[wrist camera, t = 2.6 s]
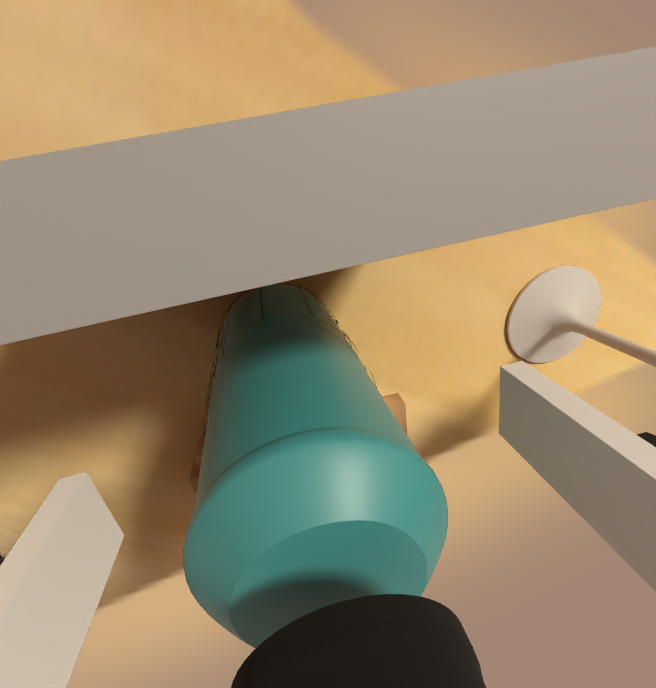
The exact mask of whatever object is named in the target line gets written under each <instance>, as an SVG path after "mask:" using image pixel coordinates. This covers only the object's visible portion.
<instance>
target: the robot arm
mask: <svg viewBox="0 0 656 688" xmlns="http://www.w3.org/2000/svg"><path fill="white" fill-rule="evenodd" d="M499 434H500V435H501V436H502V437H503V438H504V439H505V440H506V441H507V442H508V443H509V444H510V445H511V446H512V447H513V448H514V449H515V450H516V451H517V452H518V453H519V454H520V455H521V456H522V457H523V458H524V459H525V460H526V461H527V462H528V463H529V464H530V465H531V466H532V467H533V468H534V469H535V470H536V471H537V472H538V473H539V474H540V475H541V476H542V477H543V478H544V479H545V480H546V481H547V482H548V483H549V484H550V485H551V486H552V487H553V488H554V489H555V490H556V491H557V492H558V493H559V494H560V495H561V496H562V497H563V499H564V500H565V501H566V502H567V503H568V504H570V505H571V507H572V508H574V510H575V511H576V512H577V513H578V514H579V515H580V516H581V517H582V518H583V519H584V520H585V521H586V522H587V523H588V524H589V525H590V526H591V527H592V528H593V529H594V530H595V531H596V532H597V533H598V534H599V535H600V536H601V537H602V538H603V539H604V540H605V541H606V542H607V543H608V544H609V545H610V546H611V547H612V548H613V549H614V550H615V551H616V552H617V553H618V554H619V555H620V556H621V557H622V558H623V559H624V560H625V561H626V562H627V563H628V564H629V565H630V566H631V567H632V568H633V569H634V570H635V571H636V572H637V573H638V574H639V575H640V576H641V577H642V578H643V579H644V580H645V581H646V582H647V583H648V584H649V586H651V588H652V589H654V591H655V592H656V436H655V435H653V434H650V433H647V432H645V433H641V434H637V435H636V434H634V433H633V432H631V431H629V430H628V429H626V428H625V427H623V426H622V425H620V424H619V423H617V422H616V421H614V420H613V419H611V418H610V417H608V416H607V415H605V414H603V413H602V412H600V411H599V410H597V409H596V408H594V407H593V406H591V405H590V404H588V403H586V402H585V401H583V400H582V399H580V398H579V397H577V396H576V395H574V394H573V393H571V392H570V391H568V390H567V389H565V388H563V387H562V386H560V385H559V384H557V383H556V382H554V381H553V380H551V379H550V378H548V377H546V376H545V375H543V374H542V373H540V372H539V371H537V370H536V369H534V368H533V367H531V366H530V365H528V364H526V363H525V362H523V361H519V362H515V363H511V364H507V365H503V366H500V408H499ZM123 538H124V534H123V532H122V531H121V529H120V527H119V526H118V524H117V522H116V521H115V519H114V517H113V516H112V514H111V512H110V511H109V509H108V507H107V506H106V504H105V502H104V501H103V499H102V497H101V495H100V494H99V492H98V490H97V489H96V487H95V485H94V484H93V482H92V480H91V479H90V477H89V475H88V474H87V472H84V473H80V474H76V475H72V476H68V477H64V478H60V479H59V480H58V482H57V483H56V485H55V486H54V487H53V489H52V490H51V492H50V493H49V495H48V496H47V498H46V499H45V501H44V502H43V504H42V505H41V507H40V508H39V510H38V511H37V513H36V514H35V515H34V517H33V518H32V520H31V521H30V523H29V524H28V526H27V527H26V529H25V530H24V532H23V533H22V535H21V536H20V538H19V539H18V540H17V542H16V543H15V545H14V546H13V548H12V549H11V551H10V552H9V554H8V555H7V557H6V558H5V560H4V559H3V558H1V557H0V688H66V687H67V685H68V682H69V679H70V677H71V674H72V672H73V669H74V666H75V663H76V661H77V658H78V656H79V653H80V651H81V648H82V645H83V643H84V640H85V637H86V634H87V632H88V630H89V627H90V624H91V622H92V619H93V617H94V614H95V611H96V609H97V606H98V603H99V601H100V598H101V596H102V593H103V590H104V588H105V585H106V582H107V580H108V577H109V575H110V572H111V569H112V567H113V564H114V561H115V559H116V556H117V554H118V551H119V548H120V546H121V543H122V540H123Z"/></svg>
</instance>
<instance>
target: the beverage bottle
mask: <svg viewBox="0 0 656 688" xmlns="http://www.w3.org/2000/svg"><path fill="white" fill-rule="evenodd" d="M298 287H299V286H298ZM298 287H295V286H291V285H284V284H275V285H268V286H263V287H259V288H257V289H255V290H253V291H251V292H248V293H247V294H245V295H244V296H243V297H242V298H241V297H240V296H239V297H240V298H241V299H240V298H239V297H238V298H239V299H238V298H237V299H238V301H237V302H236V303H235V305H234V306H233V307H232V308H231V310H230V308H228V309H229V313H228V315H227V317H226V319H225V322H224V325H223V330H222V336H221V342H220V347H219V346H218V340H219V335H220V330H219V335H218V340H217V345H216V348H217V346H218V347H219V353H218V355H217V360H216V366H215V371H214V373H213V374H214V375H212V376H213V377H214V381H213V383H211V384H212V385H211V384H210V383H209V386H213V387H212V393H211V399H210V404H209V407H208V408H209V410H208V411H207V412H208V413H207V414H208V421H207V430H206V436H205V442H204V449H203V455H202V461H201V467H200V474H199V480H198V486H197V492H196V499H195V505H194V511H193V515H192V517H191V520H190V523H189V525H188V528H187V533H186V538H185V544H184V550H183V565H184V572H185V577H186V581H187V584H188V586H189V588H190V591H191V593H192V594H193V596H194V597H195V599H196V600H197V602H198V603H199V604H200V606H201V607H202V608H203V609H204V610H205V611H206V612H207V613H208V615H210V616H211V617H212V618H213V619H214V620H215V621H216V622H217V623H219V624H220V625H221V626H223V627H224V628H225V629H227V630H228V631H229V632H231V633H232V634H233V635H235V636H236V637H237V638H239V639H240V640H242V641H244V642H245V643H247V644H249V645H250V646H252V647H254V648H256V649H255V650H254V651H253V652H252V653H251V654H250V655H249V656H248V657H247V659H246V660H245V661H244V663H243V664H242V665H241V667H240V668H239V670H238V671H237V674H236V676H235V678H234V680H233V683H232V687H231V688H486V686H485V684H484V681H483V677H482V674H481V668H480V664H479V661H478V659H477V656H476V654H475V652H474V649H473V647H472V645H471V643H470V641H469V639H468V637H467V635H466V633H465V631H464V628H463V627H462V624H461V622H460V621H459V619H458V618H457V616H456V615H455V614H454V613H453V612H452V611H451V610H450V609H448V608H447V607H445V606H444V605H442V604H441V603H438V602H436V601H433V600H431V599H428V598H424V597H421V596H422V594H423V592H424V590H425V588H426V586H427V584H428V582H429V580H430V578H431V576H432V574H433V571H434V569H435V567H436V564H437V562H438V560H439V557H440V554H441V551H442V548H443V546H444V542H445V539H446V533H447V527H448V509H447V502H446V497H445V494H444V491H443V488H442V486H441V484H440V482H439V480H438V478H437V477H436V475H435V473H434V471H433V470H432V469H431V467H430V466H429V465H428V464H427V462H426V461H425V460H424V459H423V458H422V457H421V456H420V455H419V454H418V452H417V450H416V449H415V447H414V446H413V444H412V443H411V441H410V440H409V438H408V436H407V435H406V433H405V432H404V430H403V429H402V427H401V426H400V424H399V422H398V421H397V419H396V418H395V416H394V415H393V413H392V411H391V410H390V408H389V407H388V405H387V404H386V402H385V401H384V399H383V397H382V396H381V394H380V393H379V391H378V390H377V387H375V385H376V384H375V385H374V383H373V382H372V380H371V379H370V377H369V376H368V374H367V372H366V369H365V368H364V366H363V365H362V363H361V361H360V360H359V358H358V355H356V353H355V352H354V350H353V349H352V347H351V346H352V345H351V346H350V344H349V343H348V341H347V340H346V338H347V337H348V335H347V337H346V335H345V334H346V332H345V334H344V335H343V334H342V332H343V331H342V332H341V331H340V329H339V327H338V326H337V325H336V324H337V323H338V322H337V320H336V322H337V323H336V324H335V322H334V321H335V320H334V321H333V319H332V318H331V317H332V316H330V315H329V313H328V312H327V310H326V309H325V306H323V305H322V304H323V303H321V299H320V298H319V299H320V301H319V300H318V299H317V296H316V297H314V296H313V295H314V294H313V295H312V293H311V294H310V293H309V292H307V291H305V290H303V289H301V288H300V287H301V286H300V287H299V288H298ZM303 288H304V287H303ZM305 289H306V288H305ZM250 290H251V289H250ZM307 290H308V289H307ZM248 291H249V290H248ZM309 291H310V290H309ZM245 293H246V292H245ZM242 295H243V294H242ZM315 295H316V294H315ZM232 304H233V303H232ZM232 304H231V305H232ZM226 312H227V311H226ZM330 312H331V311H330ZM332 315H333V314H332ZM333 317H334V315H333ZM340 326H341V325H340ZM220 329H221V327H220ZM343 333H344V332H343ZM344 336H345V337H346V338H345V337H344ZM347 339H348V340H349V338H347ZM349 341H350V340H349ZM350 343H352V344H353V342H351V341H350ZM354 346H355V345H354ZM217 349H218V348H217ZM356 349H357V348H356ZM356 349H355V350H356ZM215 351H216V350H215ZM213 365H214V363H213ZM211 370H212V369H211ZM370 372H371V371H370ZM371 374H372V373H371ZM372 376H373V375H372ZM210 377H211V375H210ZM373 379H374V378H373ZM210 381H211V380H210ZM374 382H375V381H374ZM209 389H210V387H209ZM207 391H208V390H207ZM207 393H208V392H207ZM209 396H210V395H209ZM209 398H210V397H209ZM208 400H209V399H208ZM206 403H207V404H208V402H207V399H206ZM204 407H205V406H204ZM206 407H207V406H206ZM203 421H204V419H203ZM204 435H205V432H204Z"/></svg>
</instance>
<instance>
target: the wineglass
mask: <svg viewBox="0 0 656 688" xmlns="http://www.w3.org/2000/svg"><path fill="white" fill-rule="evenodd" d="M600 306H601V292H600V288H599V284H598V282H597V281H596V279H595V278H594V276H593V275H592V274H591V273H589V272H588V271H587V270H586V269H583V268H580V267H577V266H571V265H562V266H558V267H553V268H550V269H548V270H546V271H544V272H542V273H540V274H538V275H537V276H536V277H535V278H533V279H532V280H531V281H530V282H528V283H527V285H526V286H525V287H524V288H523V289H522V290H521V291H520V293H519V294H518V296H517V297H516V299H515V301H514V302H513V304H512V307H511V309H510V312H509V315H508V320H507V327H506V329H507V338H508V341H509V344H510V346H511V348H512V349H513V350H514V352H515V353H516V354H517V355H518V356H520V357H522V358H523V359H525V360H527V361H530V362H535V363H547V362H550V361H554V360H557V359H559V358H561V357H563V356H565V355H567V354H569V353H570V352H571V351H573V350H574V349H575V348H577V347H578V346H579V345H580V344H581V343H582V341H583V340H584V339H585V338H586V337H589V338H591V339H594V340H596V341H598V342H600V343H603V344H605V345H607V346H610V347H612V348H614V349H616V350H619V351H621V352H623V353H625V354H628V355H630V356H632V357H635V358H637V359H639V360H641V361H644V362H646V363H648V364H651V365H653V366H655V367H656V351H653V350H651V349H648V348H646V347H643V346H641V345H638V344H636V343H633V342H631V341H628V340H626V339H623V338H621V337H618V336H616V335H613V334H611V333H608V332H606V331H603V330H601V329H598V328H596V327H593V326H594V324H595V322H596V320H597V317H598V314H599V310H600Z"/></svg>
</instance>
